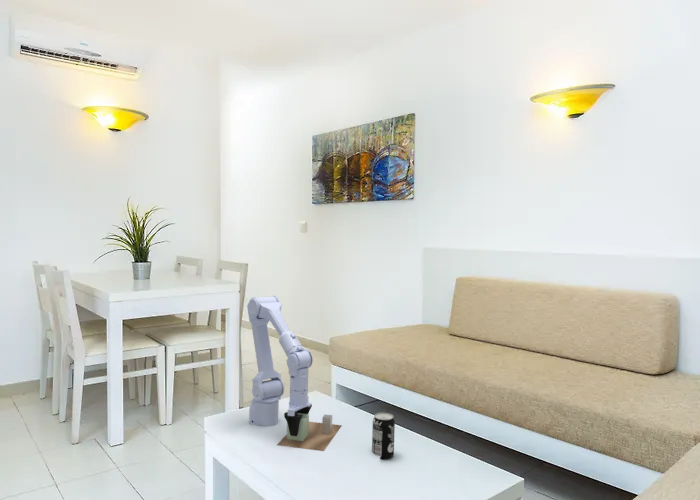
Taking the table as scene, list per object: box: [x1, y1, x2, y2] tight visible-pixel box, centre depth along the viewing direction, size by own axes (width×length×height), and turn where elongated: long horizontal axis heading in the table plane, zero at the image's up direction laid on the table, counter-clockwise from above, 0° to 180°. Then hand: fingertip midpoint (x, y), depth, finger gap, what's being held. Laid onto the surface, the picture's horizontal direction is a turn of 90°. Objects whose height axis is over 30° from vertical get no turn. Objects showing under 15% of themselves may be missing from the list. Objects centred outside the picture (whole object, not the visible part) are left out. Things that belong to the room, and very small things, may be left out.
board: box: [276, 421, 343, 452], centre depth 166 cm, size 15×22×1 cm
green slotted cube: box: [286, 413, 310, 441], centre depth 164 cm, size 5×5×7 cm
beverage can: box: [371, 412, 396, 460], centre depth 155 cm, size 7×7×12 cm
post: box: [321, 414, 333, 435], centre depth 168 cm, size 3×3×6 cm
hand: (297, 431), depth 164 cm, fingers open, 7 cm apart
